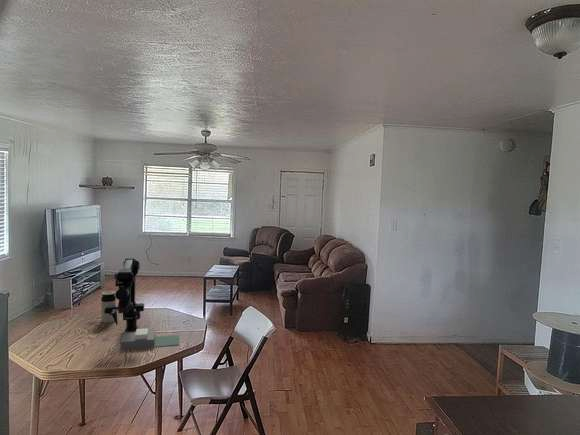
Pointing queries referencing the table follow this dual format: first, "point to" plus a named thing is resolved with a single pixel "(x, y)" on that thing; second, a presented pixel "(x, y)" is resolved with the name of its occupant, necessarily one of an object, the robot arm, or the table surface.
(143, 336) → the block
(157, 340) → the mat
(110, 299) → the travel mug
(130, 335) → the grey flat box
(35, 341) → the table surface
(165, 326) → the table surface
